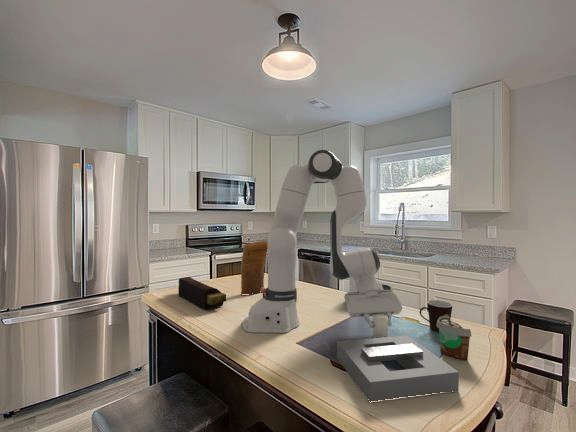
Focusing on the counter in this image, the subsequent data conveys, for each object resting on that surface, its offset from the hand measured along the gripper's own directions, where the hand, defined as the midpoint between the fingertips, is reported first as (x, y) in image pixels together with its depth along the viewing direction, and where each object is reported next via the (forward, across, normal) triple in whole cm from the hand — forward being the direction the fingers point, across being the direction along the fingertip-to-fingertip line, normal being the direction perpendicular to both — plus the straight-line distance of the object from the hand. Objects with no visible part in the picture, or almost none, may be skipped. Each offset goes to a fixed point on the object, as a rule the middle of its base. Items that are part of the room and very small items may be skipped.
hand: (381, 326), depth 105 cm
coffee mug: (0, +25, +6) cm, 26 cm away
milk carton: (-27, +10, +34) cm, 44 cm away
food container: (+13, +16, -6) cm, 21 cm away
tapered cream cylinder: (+3, 0, +4) cm, 4 cm away
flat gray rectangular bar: (+14, -8, -15) cm, 22 cm away
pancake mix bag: (-43, -39, +50) cm, 76 cm away
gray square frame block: (+18, -8, -11) cm, 22 cm away
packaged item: (-36, -67, +44) cm, 88 cm away
